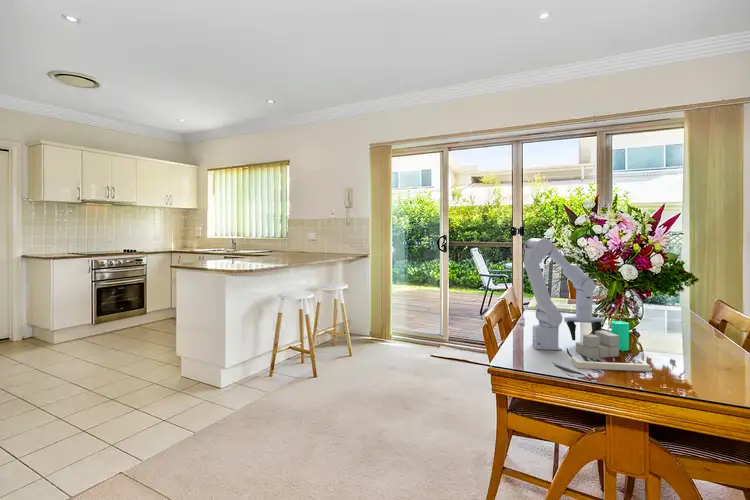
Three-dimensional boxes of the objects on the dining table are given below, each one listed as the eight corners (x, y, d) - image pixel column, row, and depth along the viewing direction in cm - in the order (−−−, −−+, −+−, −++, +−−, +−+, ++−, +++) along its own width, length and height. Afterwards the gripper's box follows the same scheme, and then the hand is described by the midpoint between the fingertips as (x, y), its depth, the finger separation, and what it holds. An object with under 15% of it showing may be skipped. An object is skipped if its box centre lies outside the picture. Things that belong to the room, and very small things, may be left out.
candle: (631, 351, 153) (632, 320, 152) (614, 350, 154) (614, 319, 154) (625, 346, 159) (625, 316, 158) (608, 346, 160) (609, 316, 159)
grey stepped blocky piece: (595, 347, 159) (596, 327, 158) (619, 356, 147) (619, 335, 147) (568, 349, 157) (568, 329, 157) (589, 358, 145) (590, 337, 145)
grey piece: (577, 368, 135) (577, 362, 135) (571, 362, 141) (571, 356, 141) (649, 371, 131) (650, 365, 131) (640, 365, 137) (640, 359, 137)
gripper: (599, 305, 163) (599, 338, 164) (561, 304, 166) (561, 336, 166) (606, 308, 156) (606, 342, 157) (567, 307, 159) (566, 341, 159)
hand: (583, 340), depth 161 cm, fingers open, 7 cm apart
